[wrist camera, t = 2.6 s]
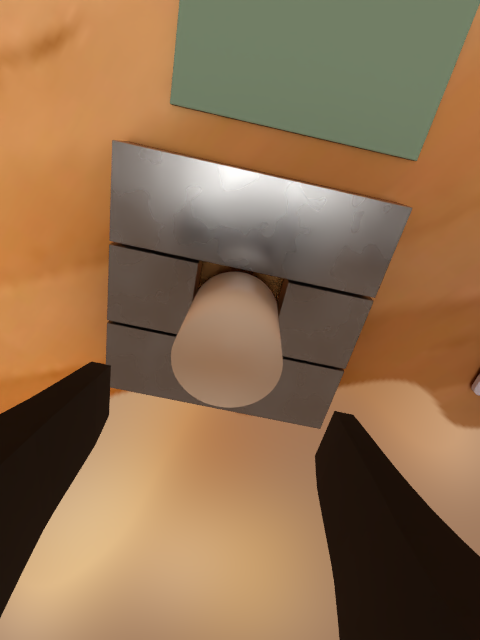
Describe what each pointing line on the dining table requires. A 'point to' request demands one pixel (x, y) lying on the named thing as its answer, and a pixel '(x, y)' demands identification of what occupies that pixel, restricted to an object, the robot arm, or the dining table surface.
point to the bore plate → (244, 253)
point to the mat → (322, 65)
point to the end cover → (229, 342)
